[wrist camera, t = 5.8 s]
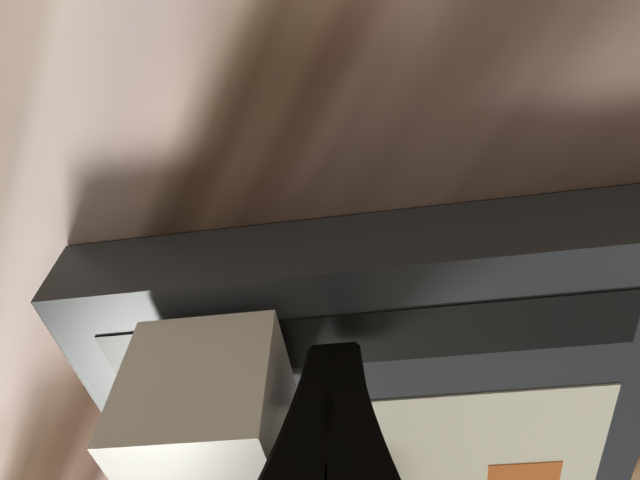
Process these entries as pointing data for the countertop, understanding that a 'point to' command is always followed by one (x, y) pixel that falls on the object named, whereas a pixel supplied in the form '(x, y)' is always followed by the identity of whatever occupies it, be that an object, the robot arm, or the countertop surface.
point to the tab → (196, 400)
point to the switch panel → (412, 321)
